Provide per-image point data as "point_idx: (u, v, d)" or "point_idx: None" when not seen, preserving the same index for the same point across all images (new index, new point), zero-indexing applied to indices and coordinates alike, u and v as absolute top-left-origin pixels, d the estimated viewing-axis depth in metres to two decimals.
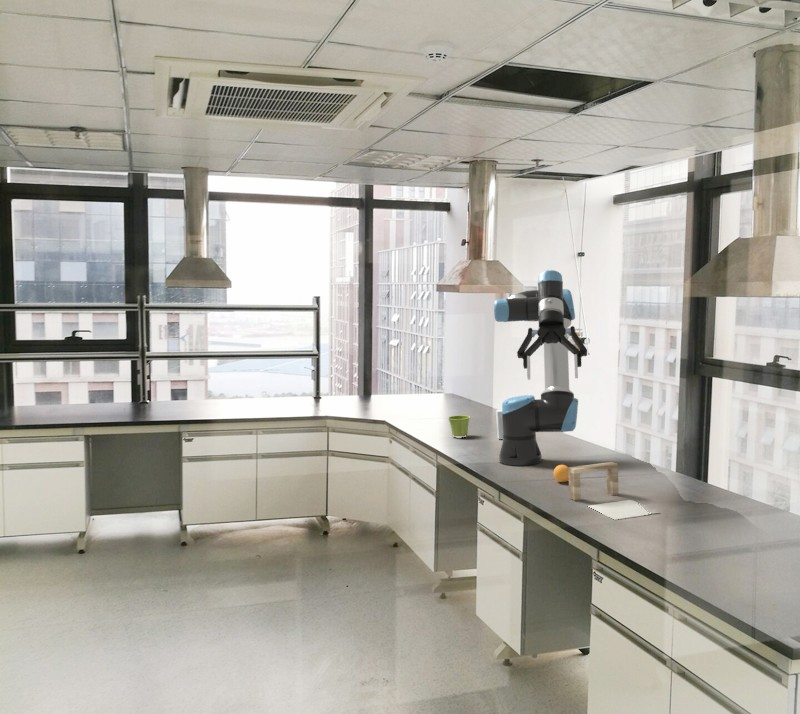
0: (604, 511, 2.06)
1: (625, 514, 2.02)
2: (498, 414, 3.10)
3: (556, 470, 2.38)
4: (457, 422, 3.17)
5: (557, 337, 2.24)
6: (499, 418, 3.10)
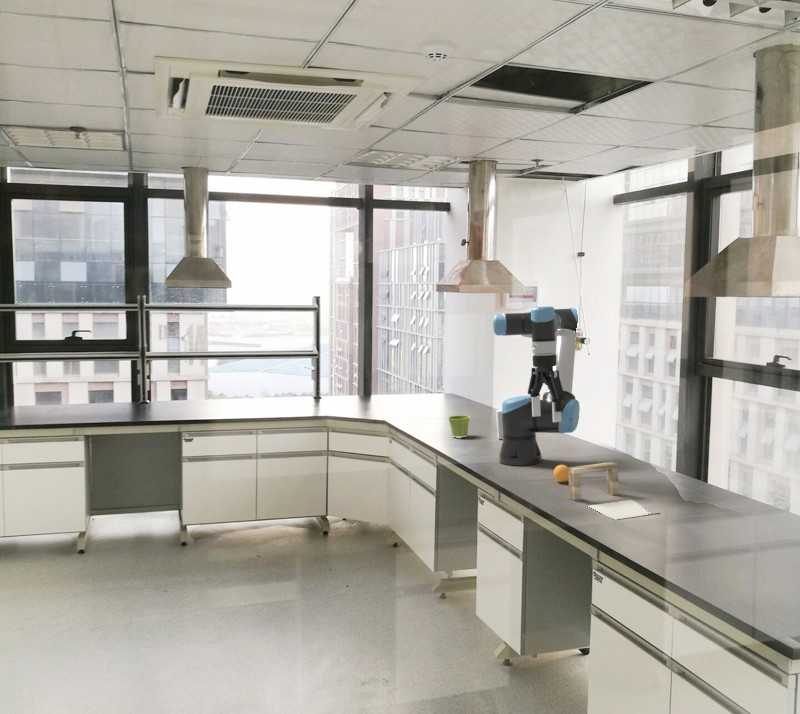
0: (604, 511, 2.06)
1: (625, 514, 2.02)
2: (498, 414, 3.10)
3: (556, 470, 2.38)
4: (457, 422, 3.17)
5: None
6: (499, 418, 3.10)
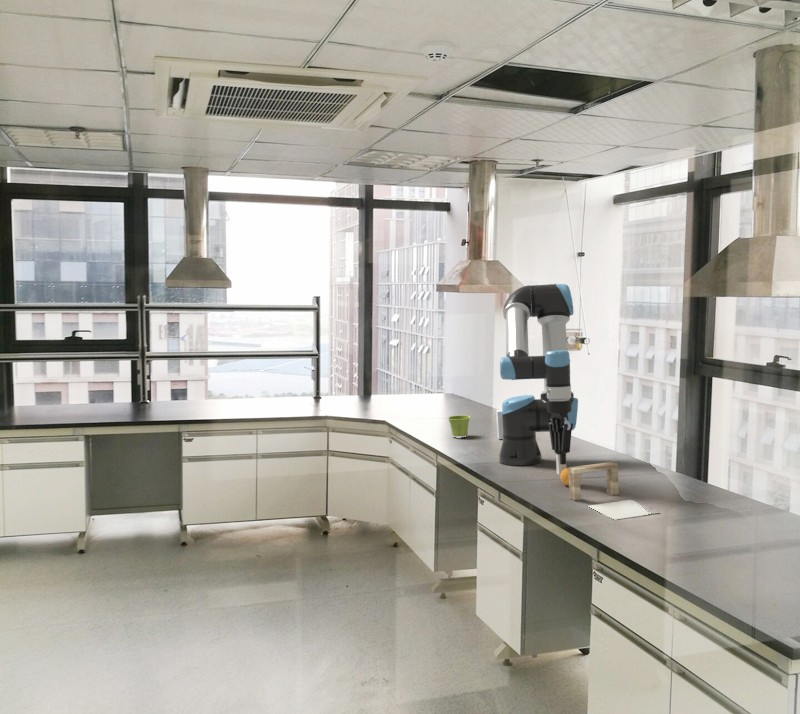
0: (604, 511, 2.06)
1: (625, 514, 2.02)
2: (498, 414, 3.10)
3: (564, 480, 2.33)
4: (457, 422, 3.17)
5: (559, 427, 2.35)
6: (499, 418, 3.10)
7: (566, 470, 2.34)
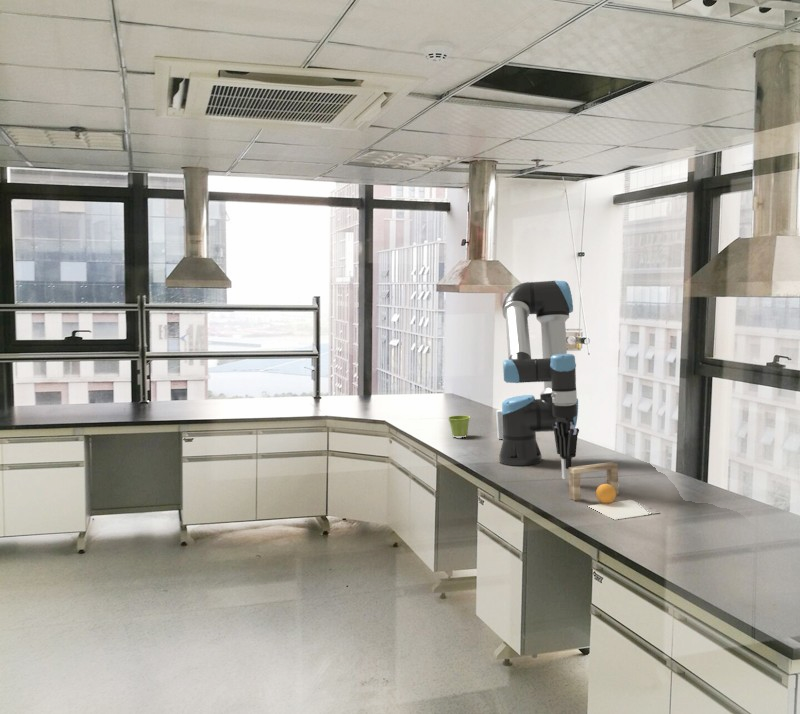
0: (604, 511, 2.06)
1: (625, 514, 2.02)
2: (498, 414, 3.10)
3: (597, 498, 2.14)
4: (457, 422, 3.17)
5: (565, 432, 2.33)
6: (499, 418, 3.10)
7: (606, 498, 2.11)
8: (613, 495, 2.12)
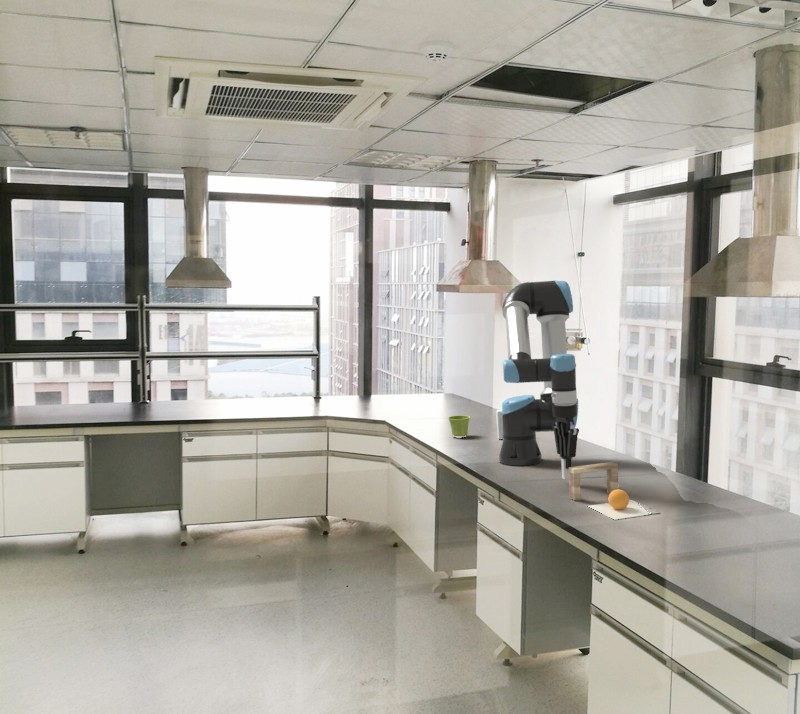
0: (604, 511, 2.06)
1: (625, 514, 2.02)
2: (498, 414, 3.10)
3: (610, 495, 2.07)
4: (457, 422, 3.17)
5: (565, 432, 2.33)
6: (499, 418, 3.10)
7: None
8: None
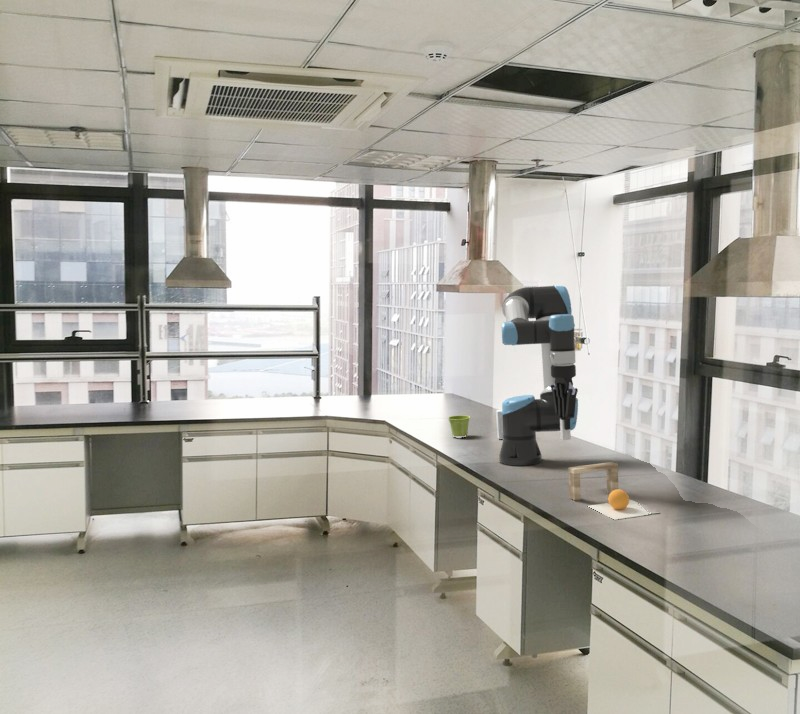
0: (604, 511, 2.06)
1: (625, 514, 2.02)
2: (498, 414, 3.10)
3: (610, 495, 2.07)
4: (457, 422, 3.17)
5: (563, 392, 2.32)
6: (499, 418, 3.10)
7: None
8: None
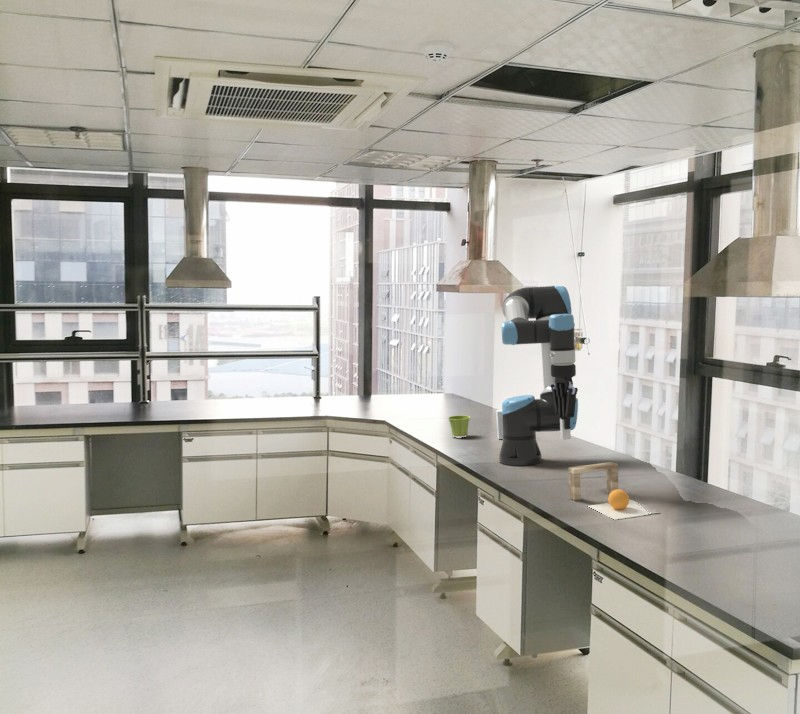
0: (604, 511, 2.06)
1: (625, 514, 2.02)
2: (498, 414, 3.10)
3: (610, 495, 2.07)
4: (457, 422, 3.17)
5: (563, 392, 2.32)
6: (499, 418, 3.10)
7: None
8: None
